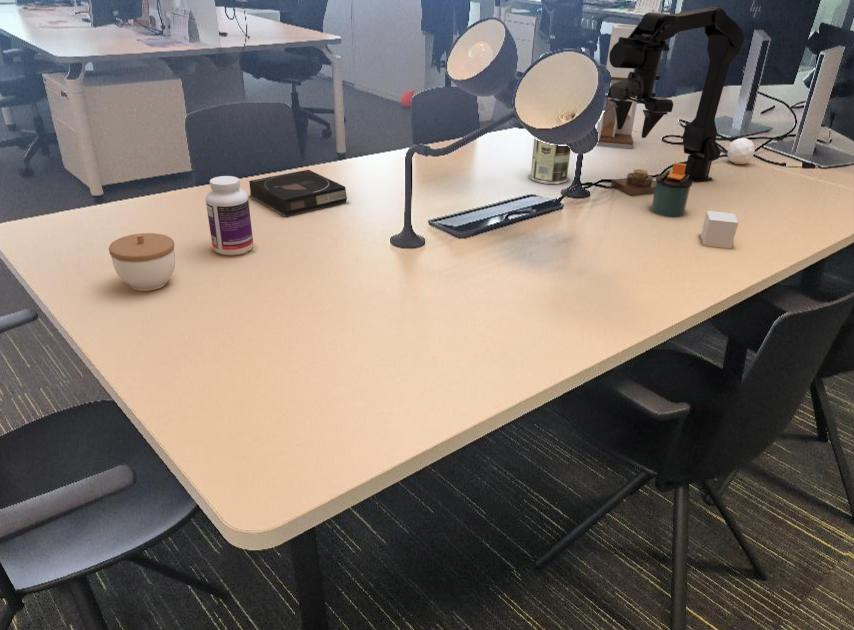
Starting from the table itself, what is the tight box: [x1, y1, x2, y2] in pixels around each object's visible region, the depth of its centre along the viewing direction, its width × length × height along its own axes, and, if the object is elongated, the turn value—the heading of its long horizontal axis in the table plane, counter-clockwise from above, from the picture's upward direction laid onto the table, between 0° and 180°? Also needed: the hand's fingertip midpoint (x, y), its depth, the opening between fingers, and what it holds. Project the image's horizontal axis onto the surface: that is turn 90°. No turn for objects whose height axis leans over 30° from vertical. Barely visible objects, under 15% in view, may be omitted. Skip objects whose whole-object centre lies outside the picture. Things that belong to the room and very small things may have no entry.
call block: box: [610, 171, 657, 197], centre depth 188 cm, size 11×9×4 cm
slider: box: [667, 162, 686, 180], centre depth 171 cm, size 5×3×3 cm
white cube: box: [700, 210, 739, 249], centre depth 156 cm, size 6×6×6 cm
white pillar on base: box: [596, 23, 638, 150], centre depth 221 cm, size 11×11×35 cm
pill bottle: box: [205, 175, 254, 256], centre depth 139 cm, size 8×8×14 cm
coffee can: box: [529, 137, 571, 185], centre depth 190 cm, size 10×10×14 cm
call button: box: [632, 168, 649, 179], centre depth 187 cm, size 4×4×2 cm
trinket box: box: [108, 232, 176, 292], centre depth 125 cm, size 11×11×9 cm
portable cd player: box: [248, 169, 348, 218], centre depth 168 cm, size 16×17×4 cm
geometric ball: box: [726, 137, 756, 165], centre depth 213 cm, size 8×8×8 cm
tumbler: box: [650, 170, 693, 218], centre depth 172 cm, size 9×9×9 cm
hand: (631, 133), depth 181 cm, fingers open, 9 cm apart
